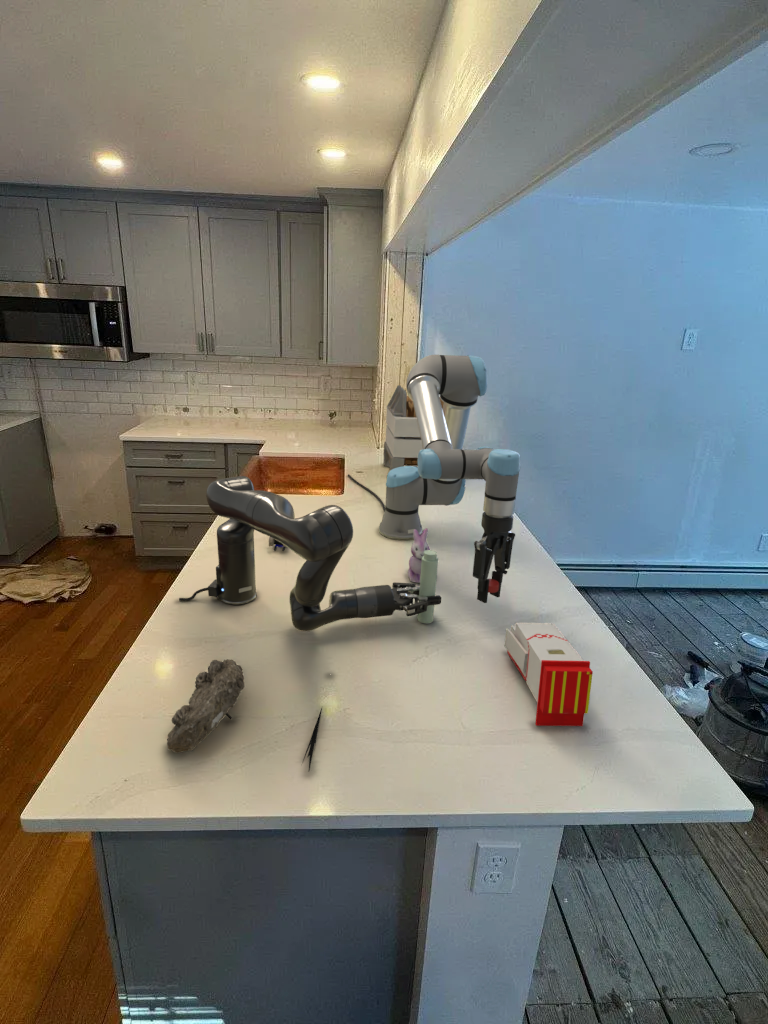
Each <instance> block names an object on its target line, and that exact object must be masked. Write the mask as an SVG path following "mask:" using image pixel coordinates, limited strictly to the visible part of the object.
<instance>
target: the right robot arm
mask: <svg viewBox="0 0 768 1024" xmlns="http://www.w3.org/2000/svg"><path fill="white" fill-rule="evenodd" d="M487 371H488V370H487V366H486V363H485V361H484V359H483V358H482V357H480V356H475V355H469V354H467V355H458V354H457V355H455V354H454V355H452V354H430V355H429V354H428V355H427V356H425V357H422V358H421V359H419V360H418V361H417V362H416V363H415V364H414V365H413V366H412V367H411V368H410V371H409V372H408V375H407V378H406V384H405V385H406V386H405V387H406V393H407V396H409V398H410V399H411V400H412V401H413V404H414V409H415V413H416V418H417V423H418V427H419V432H420V436H421V441H422V446H423V449H422V450H420V452H419V454H418V462H417V465H418V466H407V465H404V466H402V467H397V468H394V469H392V470H391V471H390V470H388V473H387V475H386V480H385V481H386V482H385V487H386V488H385V504H384V502H383V500H382V499H381V498H380V497H379V495H377V494H376V493H375V492H374V491H373V490H371V489H370V488H368V487H367V486H365V485H364V484H362V483H360V482H359V481H357V480H356V479H354V478H353V477H352V475H350V474H347V477H348V478H349V479H350V480H351V481H353V483H355V484H357V485H358V486H360V487H361V488H363V489H364V490H365V491H367V492H368V493H370V494H372V496H374V497H375V498H376V499H377V500H378V502H379V503H380V505H381V507H382V510H383V512H384V513H383V515H382V519H381V522H379V526H378V533H379V534H380V535H381V536H382V537H385V538H387V539H389V540H395V541H410V540H414V537H413V530H414V529H416V530H417V531H418V533H419V535H421V534H422V532H423V525H422V524H421V518H420V515H419V507H420V506H447V507H448V506H454V505H455V506H456V505H458V504H459V503H461V501H462V500H463V497H464V495H465V491H466V480H484V481H485V486H484V487H485V488H484V500H483V507H482V510H483V512H482V515H481V525H480V526H481V527H482V529H483V534H482V535H481V536H482V537H481V539H480V540H475V541H474V542H473V546H474V556H473V567H472V577H474V578H475V579H477V595H476V600H477V601H478V602H481V603H483V604H487V603H488V597H489V595H491V596H493V597H496V598H497V599H498V598H501V591H502V590H501V589H502V582H503V577H504V575H507V574H508V570H509V569H510V567H511V560H512V551H513V545H514V540H515V537H516V533H515V532H512V529H513V524H514V514H515V511H516V510H515V509H516V500H517V490H518V484H519V477H520V471H521V455H520V453H519V452H517V451H515V450H512V449H505V448H497V449H495V448H494V447H490V446H486V445H485V446H480V447H478V448H476V449H463V448H464V443H465V438H466V433H467V428H468V423H469V418H470V414H471V408H472V407H473V406H475V405H476V404H477V403H478V398H479V397H482V396H485V395H486V394H487V391H488V390H487V389H488V372H487ZM439 397H440V398H441V400H442V401H443V402H444V405H443V409H442V406H441V402H440V398H439ZM493 558H494V560H493ZM493 561H494V570H492V571H491V567H492V563H493ZM490 571H491V579H494V580H496V581H498V582H499V591H497V592H495V593H488V589H489V579H490V578H489V574H490Z"/></svg>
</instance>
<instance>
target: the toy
mask: <svg viewBox="0 0 768 1024" xmlns="http://www.w3.org/2000/svg"><path fill="white" fill-rule="evenodd" d="M503 645H504V647H505V649H506V650H507V655H508V656H509V658H510V659H511V662H513V664H514V666H515V667H516V669H517V670H518V672H519V673H520V675H521V676H522V679H523V680H524V681H525V683H526V686H527V687H528V689H529V690H530V693H531V694H532V696H533V698H534V700H535V701H536V703H537V704H536V714H535V722H534V723H535V726H537V727H541V726H542V727H583V726H584V719H585V715H586V714H587V715H588V714H589V706H590V705H589V704H590V699H591V691H592V683H593V682H592V681H593V674H594V673H593V672H594V671H593V670H592V669H591V668H590V667H591V661H590V660H584V659H583V658H582V657H581V655H580V654H579V653H578V651H577V650H576V649H575V648H574V647H573V645H572V644H571V643H570V642H569V640H568V639H567V638H566V636H564V633H562V632H561V630H560V629H559V628H558V627H557V625H556V624H555V623H553V622H515V624H511V625H510V628H506V630H505V638H504V644H503Z"/></svg>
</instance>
